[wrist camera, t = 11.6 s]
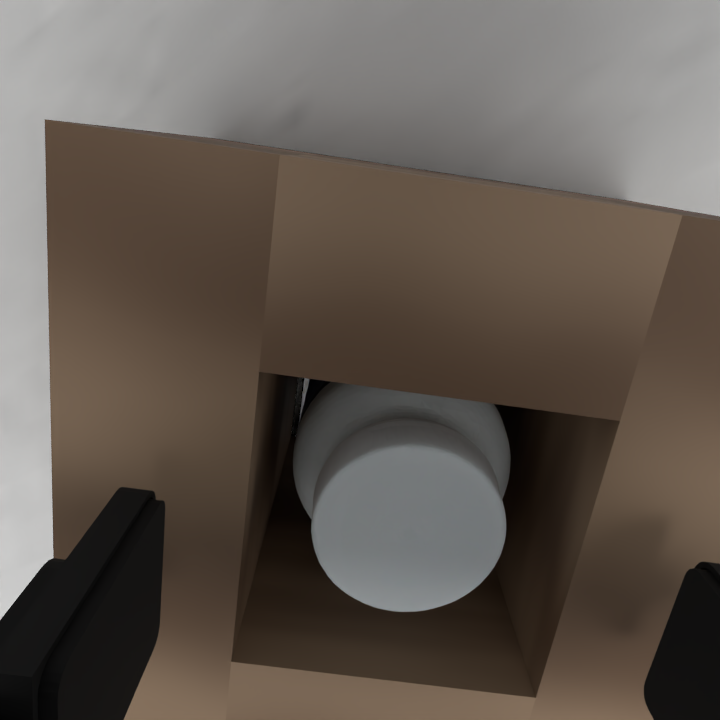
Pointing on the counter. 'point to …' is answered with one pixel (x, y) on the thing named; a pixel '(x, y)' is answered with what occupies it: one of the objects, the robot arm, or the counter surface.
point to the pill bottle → (402, 492)
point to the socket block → (387, 371)
